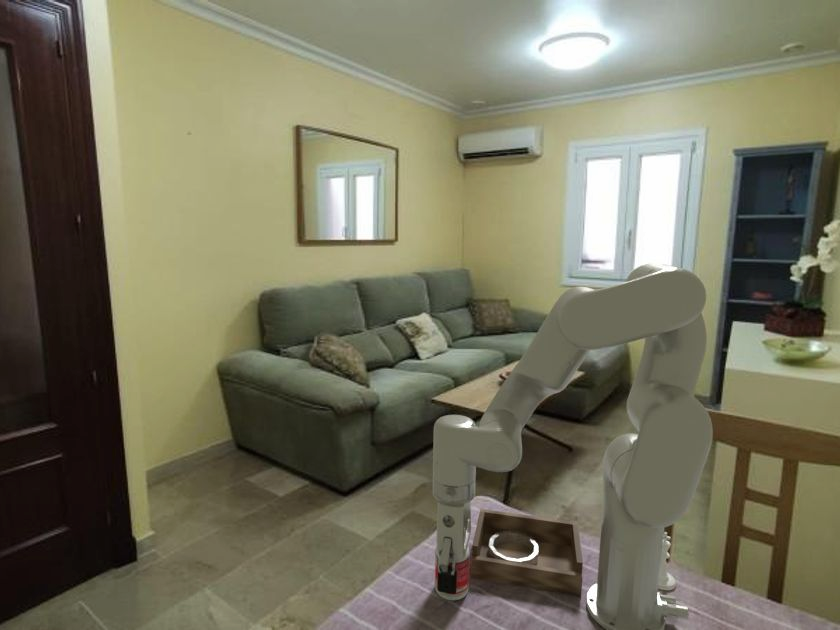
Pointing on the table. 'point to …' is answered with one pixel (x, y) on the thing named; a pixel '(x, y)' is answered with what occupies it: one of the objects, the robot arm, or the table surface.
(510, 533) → the collar
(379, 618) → the table surface
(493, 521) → the walled box
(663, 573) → the chess piece
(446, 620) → the table surface
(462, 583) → the pill bottle
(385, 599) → the table surface
